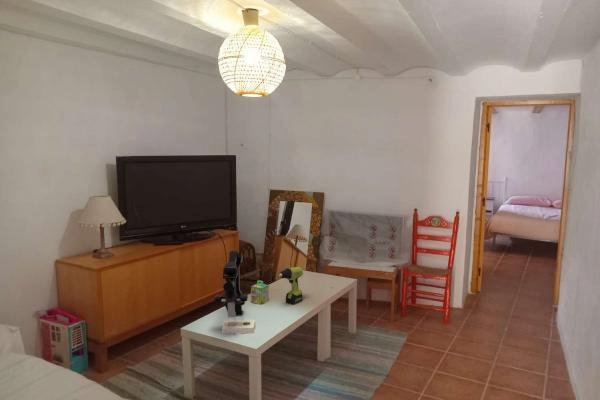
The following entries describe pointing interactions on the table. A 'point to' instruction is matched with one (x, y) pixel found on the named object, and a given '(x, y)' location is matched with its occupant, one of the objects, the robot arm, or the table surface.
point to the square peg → (231, 310)
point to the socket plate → (238, 326)
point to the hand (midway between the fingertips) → (231, 311)
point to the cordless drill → (293, 284)
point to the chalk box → (259, 293)
